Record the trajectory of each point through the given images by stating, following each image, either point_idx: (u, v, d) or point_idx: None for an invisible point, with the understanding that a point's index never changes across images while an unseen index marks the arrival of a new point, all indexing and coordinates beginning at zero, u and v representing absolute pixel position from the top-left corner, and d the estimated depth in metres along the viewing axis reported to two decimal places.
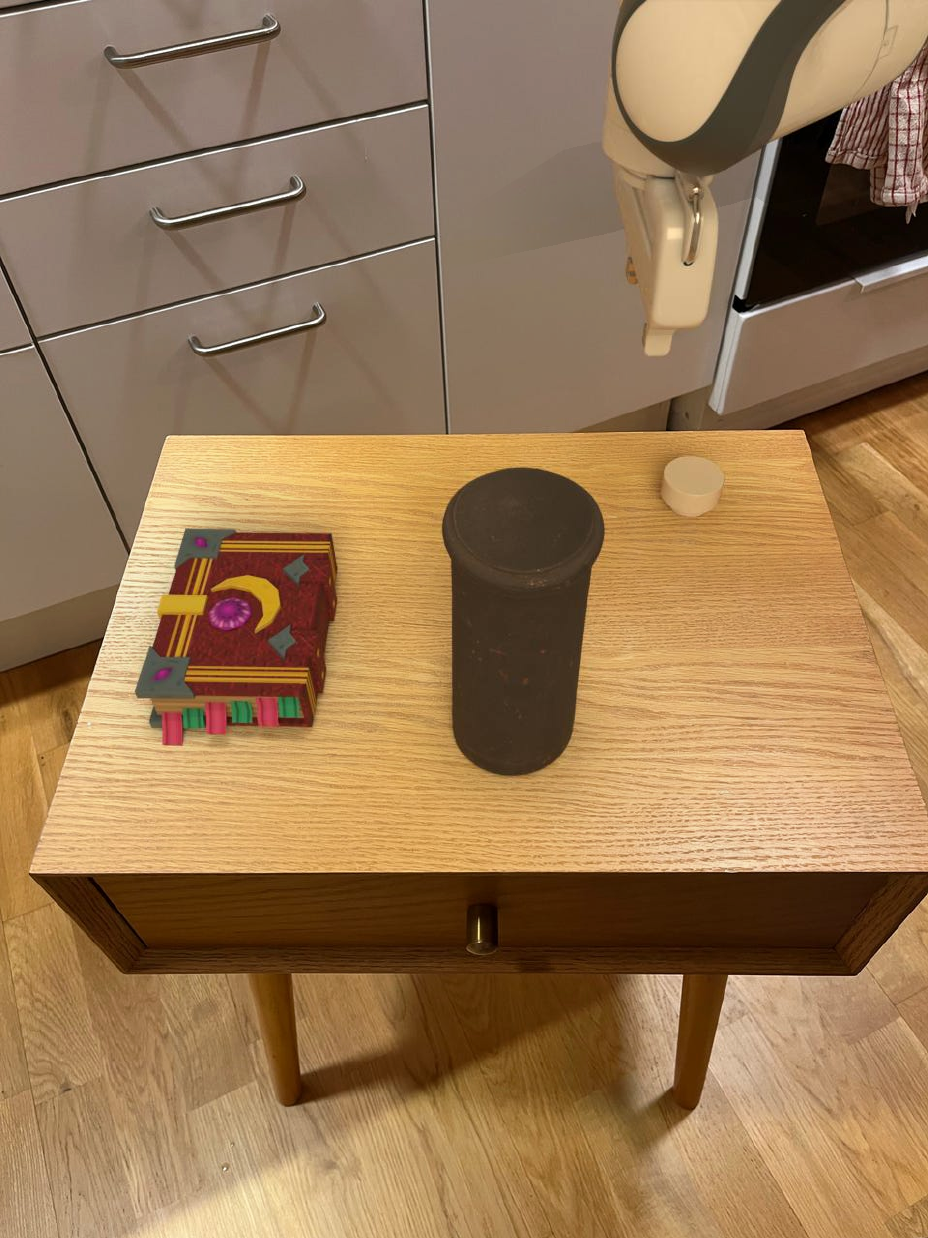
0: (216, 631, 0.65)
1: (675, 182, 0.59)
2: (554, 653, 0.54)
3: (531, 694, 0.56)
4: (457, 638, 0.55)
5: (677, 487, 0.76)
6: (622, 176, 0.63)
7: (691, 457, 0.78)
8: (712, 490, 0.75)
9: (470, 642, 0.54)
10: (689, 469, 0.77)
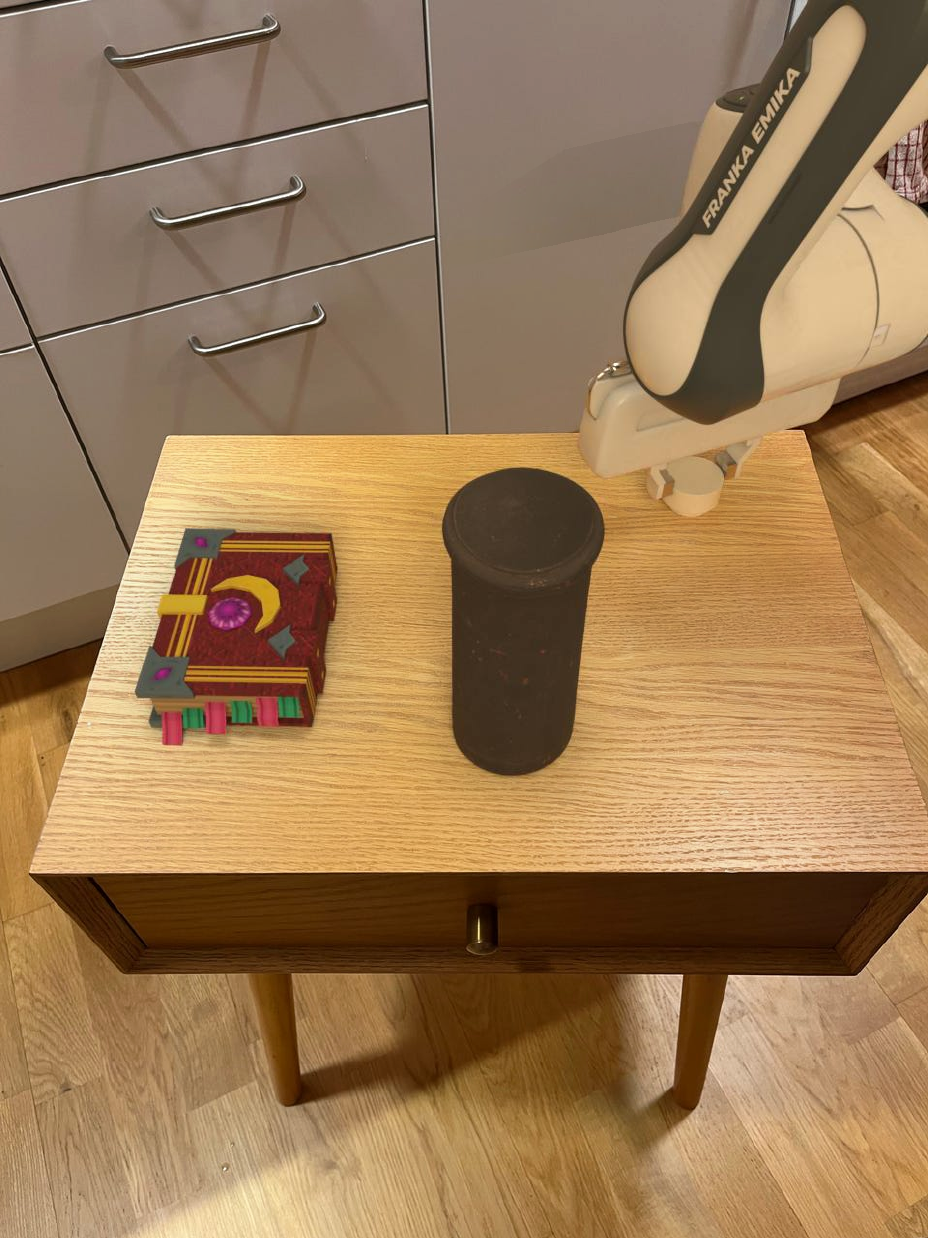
0: (216, 631, 0.65)
1: None
2: (554, 653, 0.54)
3: (531, 694, 0.56)
4: (457, 638, 0.55)
5: (677, 487, 0.76)
6: None
7: (691, 457, 0.78)
8: (712, 490, 0.75)
9: (471, 642, 0.54)
10: (688, 470, 0.77)
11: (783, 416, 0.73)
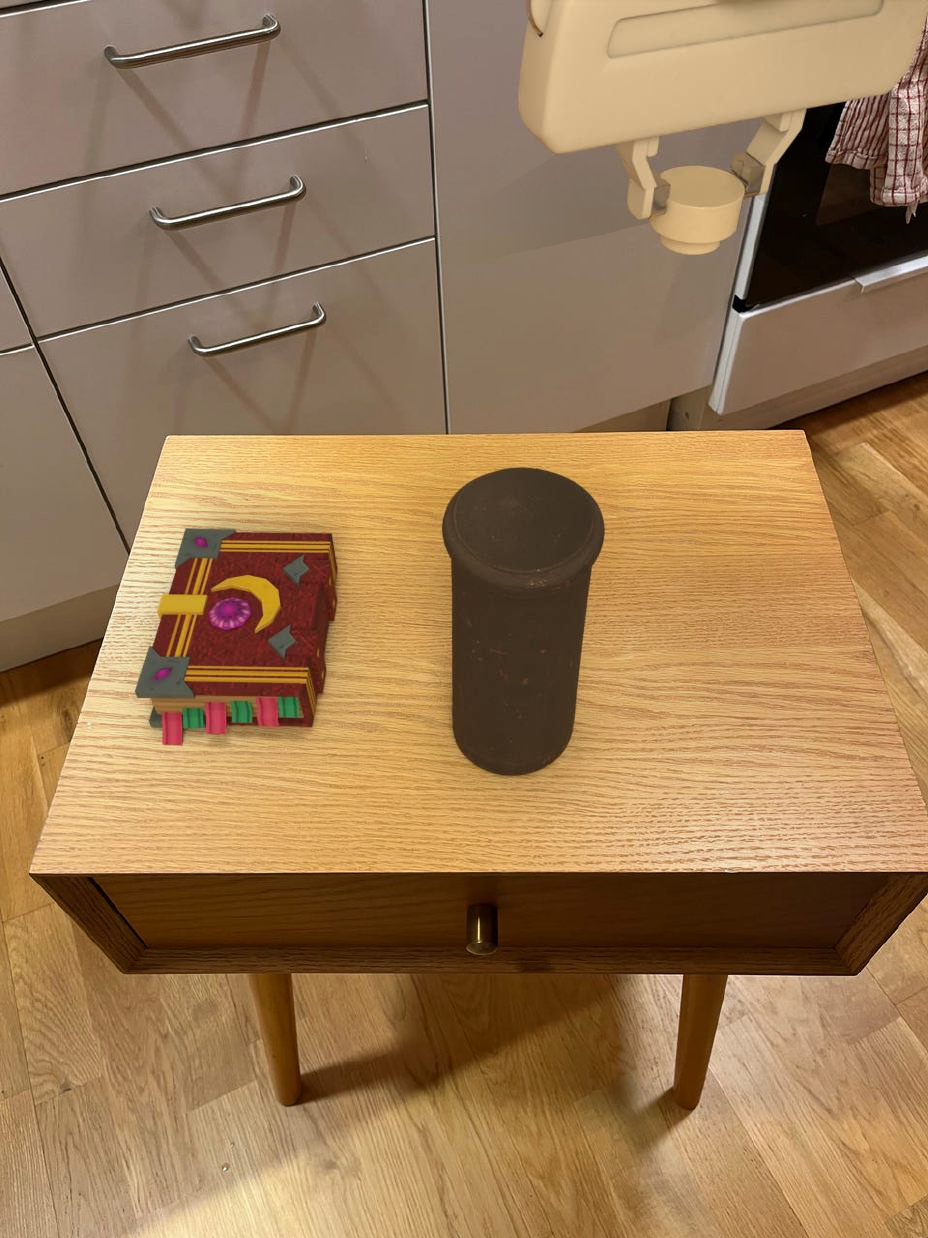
0: (216, 631, 0.65)
1: None
2: (554, 653, 0.54)
3: (531, 694, 0.56)
4: (457, 638, 0.55)
5: (673, 198, 0.50)
6: None
7: (695, 167, 0.52)
8: (726, 202, 0.50)
9: (471, 642, 0.54)
10: (691, 180, 0.51)
11: (838, 71, 0.47)
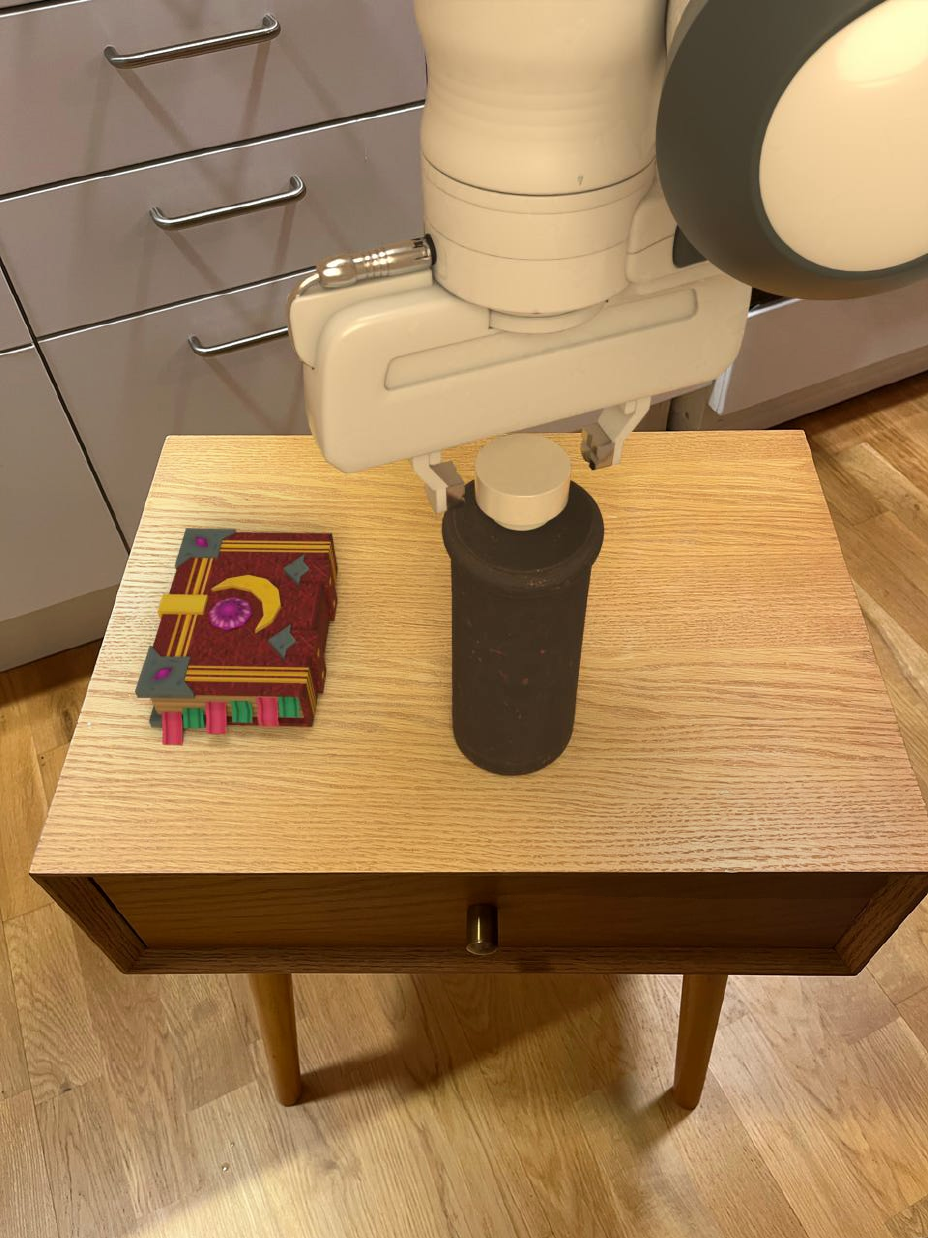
0: (216, 631, 0.65)
1: None
2: (554, 653, 0.54)
3: (531, 694, 0.56)
4: (457, 638, 0.55)
5: (492, 482, 0.47)
6: None
7: (523, 435, 0.49)
8: (548, 488, 0.46)
9: (470, 642, 0.54)
10: (516, 455, 0.48)
11: (656, 369, 0.44)
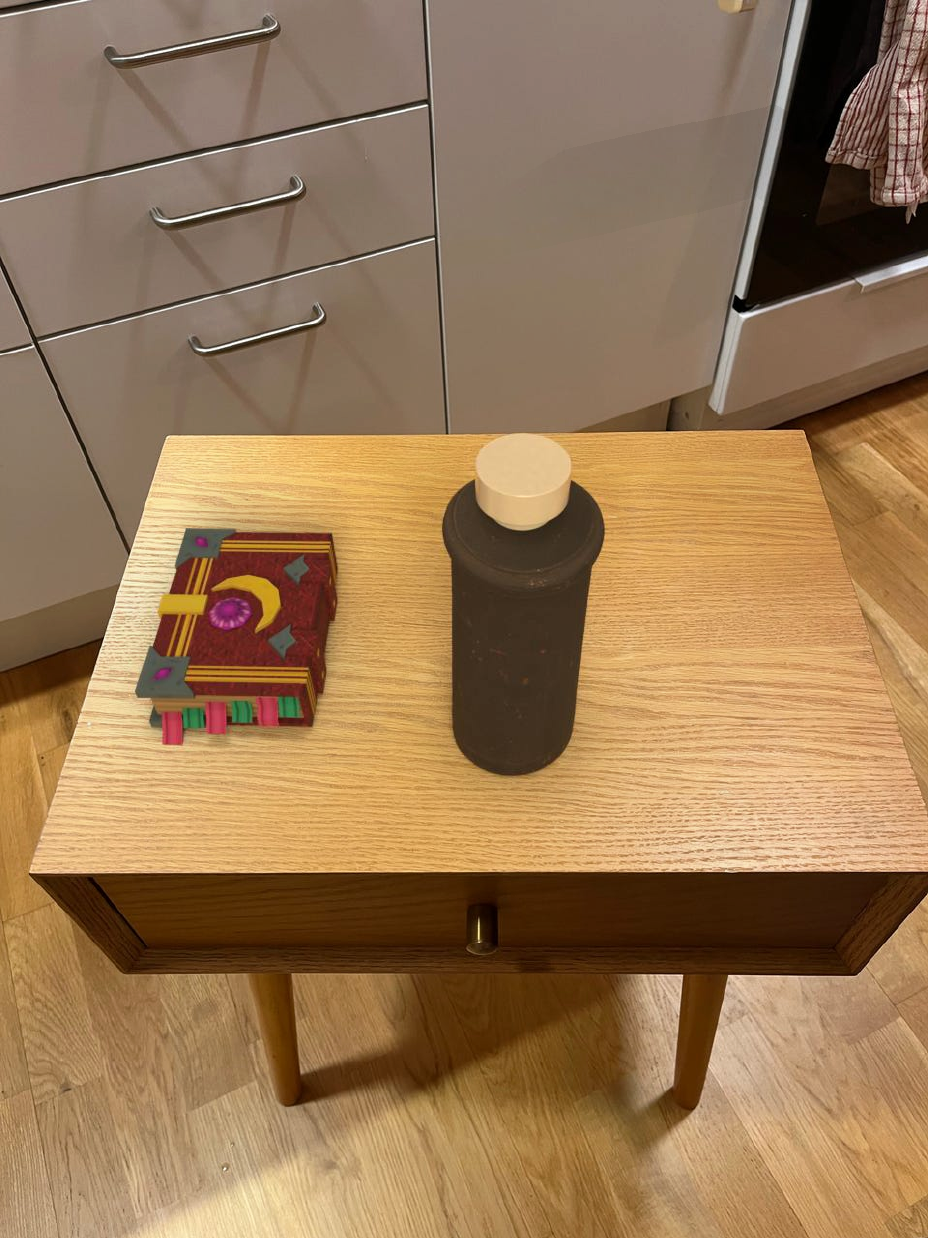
0: (216, 631, 0.65)
1: None
2: (554, 653, 0.54)
3: (531, 694, 0.56)
4: (457, 638, 0.55)
5: (493, 482, 0.47)
6: None
7: (523, 435, 0.49)
8: (548, 488, 0.46)
9: (471, 642, 0.54)
10: (516, 455, 0.48)
11: None
